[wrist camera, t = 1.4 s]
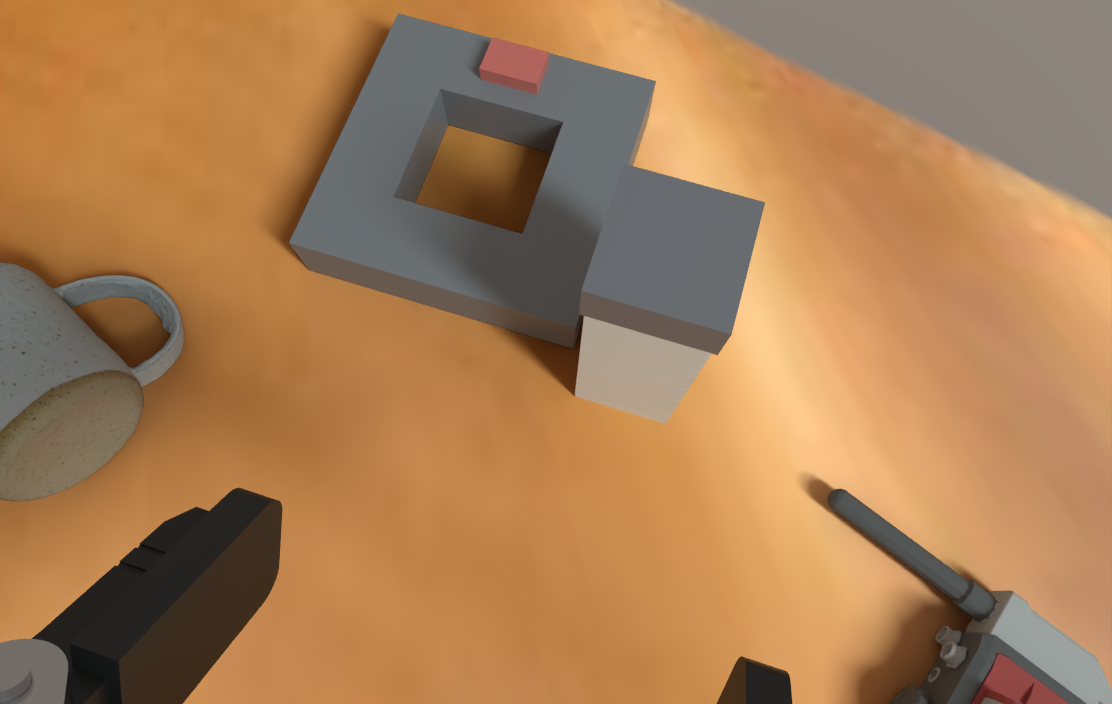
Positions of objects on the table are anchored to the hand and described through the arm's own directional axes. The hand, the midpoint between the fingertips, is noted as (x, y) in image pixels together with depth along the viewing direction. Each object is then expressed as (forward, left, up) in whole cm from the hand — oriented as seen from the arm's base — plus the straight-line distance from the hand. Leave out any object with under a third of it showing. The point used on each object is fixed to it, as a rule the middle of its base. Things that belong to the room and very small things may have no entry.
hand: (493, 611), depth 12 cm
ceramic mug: (-23, +3, -21) cm, 32 cm away
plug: (+1, +12, -21) cm, 24 cm away
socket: (-9, +19, -21) cm, 30 cm away
